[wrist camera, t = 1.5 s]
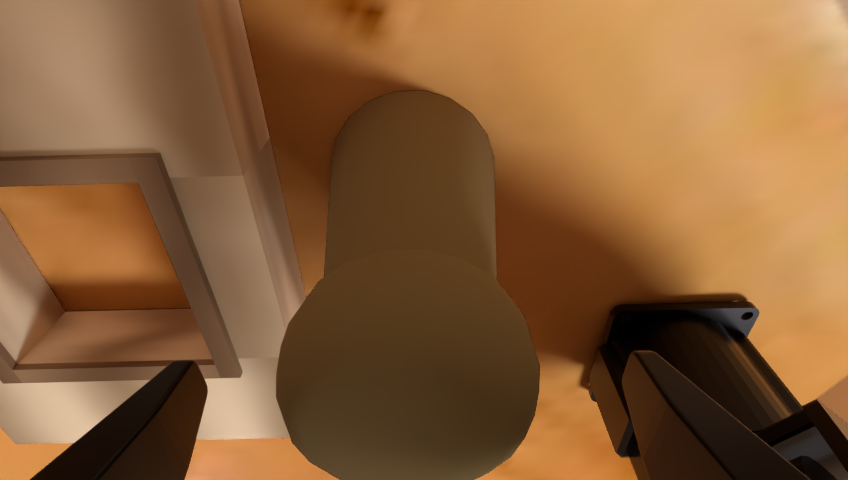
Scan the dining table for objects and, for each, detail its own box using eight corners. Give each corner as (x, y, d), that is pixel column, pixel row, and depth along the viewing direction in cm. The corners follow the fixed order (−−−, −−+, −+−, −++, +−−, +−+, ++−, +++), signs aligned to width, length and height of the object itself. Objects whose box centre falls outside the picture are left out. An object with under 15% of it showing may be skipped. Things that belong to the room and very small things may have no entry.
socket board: (228, -47, 13) (178, -39, 10) (325, 384, 24) (313, 442, 21) (-261, -33, 13) (-439, -22, 10) (57, 390, 24) (11, 450, 21)
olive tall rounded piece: (332, 78, 15) (201, 311, 6) (511, 101, 16) (643, 348, 6) (330, 231, 18) (244, 526, 9) (477, 245, 19) (531, 540, 10)
